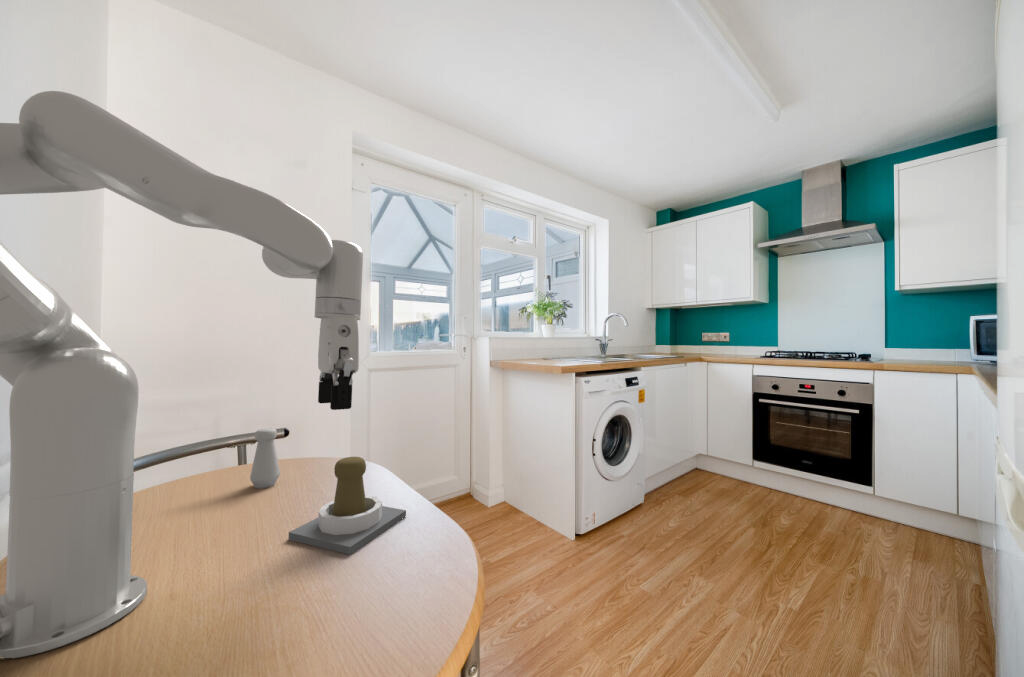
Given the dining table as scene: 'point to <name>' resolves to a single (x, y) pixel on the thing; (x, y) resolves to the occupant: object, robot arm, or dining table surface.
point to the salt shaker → (265, 459)
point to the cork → (349, 487)
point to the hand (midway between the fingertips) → (333, 405)
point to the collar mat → (348, 539)
